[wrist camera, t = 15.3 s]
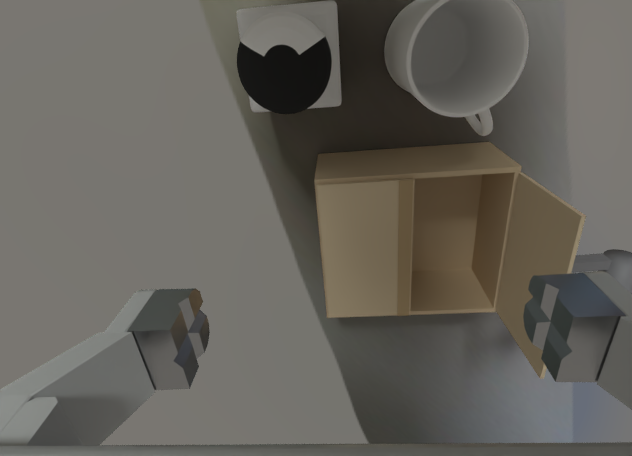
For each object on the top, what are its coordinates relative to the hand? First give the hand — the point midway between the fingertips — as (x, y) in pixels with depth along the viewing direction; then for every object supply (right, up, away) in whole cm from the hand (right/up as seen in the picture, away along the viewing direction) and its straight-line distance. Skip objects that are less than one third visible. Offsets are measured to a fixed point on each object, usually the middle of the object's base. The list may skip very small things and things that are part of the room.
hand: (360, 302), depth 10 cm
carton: (+9, +3, +35) cm, 36 cm away
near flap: (+17, -2, +23) cm, 29 cm away
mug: (+10, +18, +28) cm, 35 cm away
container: (-3, +19, +28) cm, 34 cm away
